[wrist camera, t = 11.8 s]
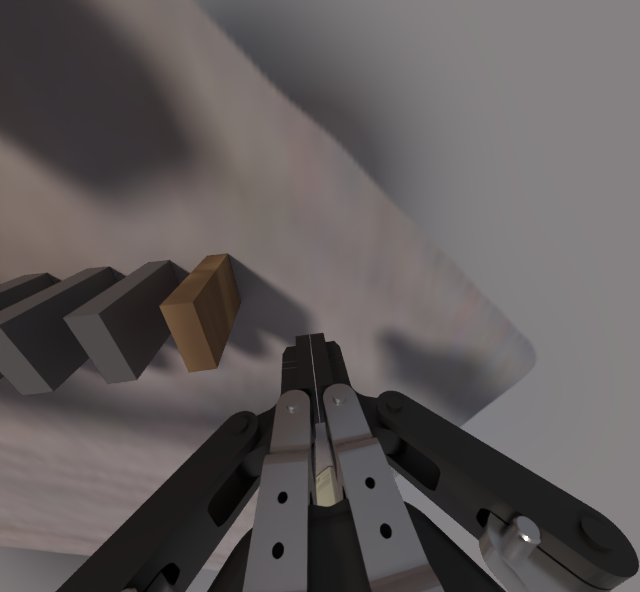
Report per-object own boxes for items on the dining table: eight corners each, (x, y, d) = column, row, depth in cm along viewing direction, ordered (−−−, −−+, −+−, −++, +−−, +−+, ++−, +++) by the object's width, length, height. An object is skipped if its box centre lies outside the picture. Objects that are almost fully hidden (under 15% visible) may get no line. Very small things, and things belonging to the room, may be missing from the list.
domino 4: (169, 311, 23) (107, 383, 15) (148, 262, 21) (63, 318, 13) (188, 309, 23) (136, 380, 15) (169, 260, 21) (98, 313, 13)
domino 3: (114, 317, 23) (22, 395, 15) (87, 268, 21) (-39, 329, 13) (134, 315, 23) (53, 391, 15) (109, 266, 21) (-2, 325, 13)
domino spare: (222, 304, 24) (188, 372, 16) (207, 255, 21) (159, 306, 13) (240, 302, 24) (217, 368, 16) (227, 253, 21) (192, 302, 14)
